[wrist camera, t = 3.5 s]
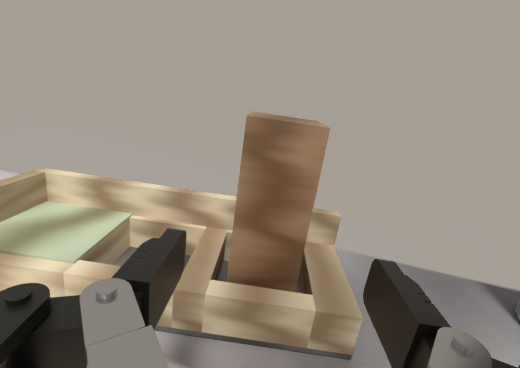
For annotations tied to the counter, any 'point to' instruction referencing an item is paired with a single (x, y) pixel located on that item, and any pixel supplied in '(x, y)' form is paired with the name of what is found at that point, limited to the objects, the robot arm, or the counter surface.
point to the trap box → (196, 259)
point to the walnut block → (275, 199)
